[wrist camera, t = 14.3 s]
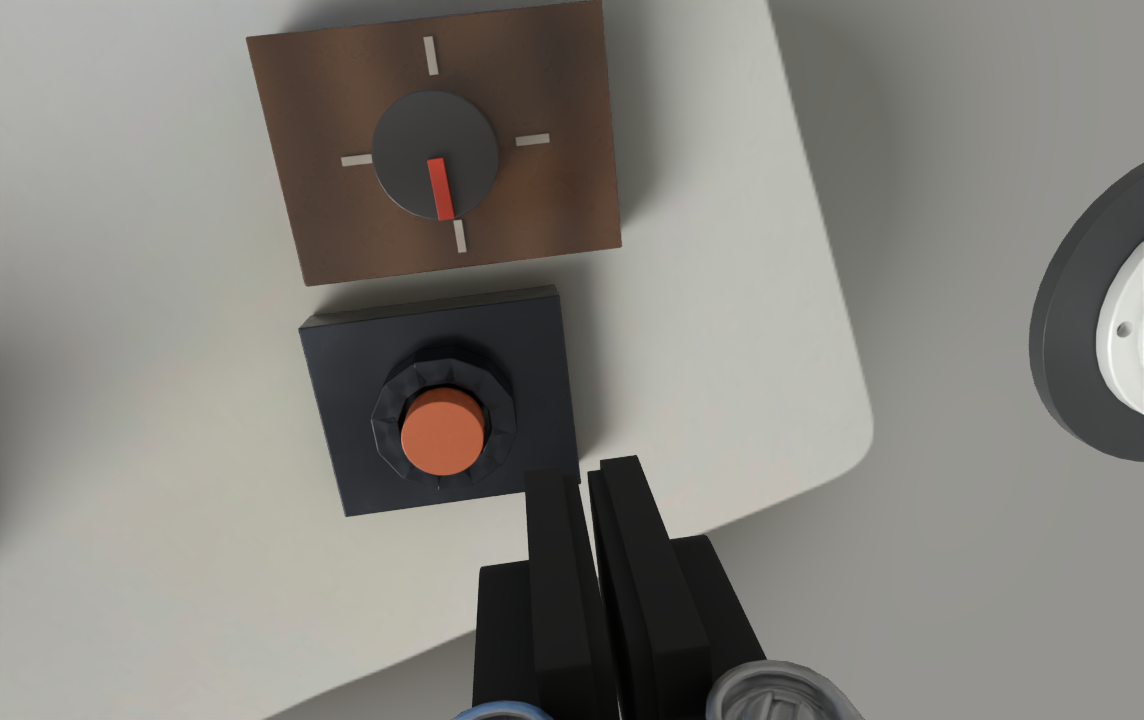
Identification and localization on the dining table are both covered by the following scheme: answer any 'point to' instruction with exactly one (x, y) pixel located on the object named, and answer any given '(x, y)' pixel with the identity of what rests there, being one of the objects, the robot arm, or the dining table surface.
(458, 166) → the dial
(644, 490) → the robot arm
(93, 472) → the dining table surface
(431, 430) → the push knob
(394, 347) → the black button base
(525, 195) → the dial panel
